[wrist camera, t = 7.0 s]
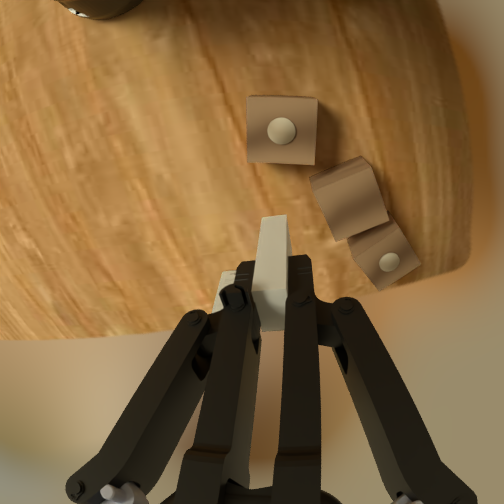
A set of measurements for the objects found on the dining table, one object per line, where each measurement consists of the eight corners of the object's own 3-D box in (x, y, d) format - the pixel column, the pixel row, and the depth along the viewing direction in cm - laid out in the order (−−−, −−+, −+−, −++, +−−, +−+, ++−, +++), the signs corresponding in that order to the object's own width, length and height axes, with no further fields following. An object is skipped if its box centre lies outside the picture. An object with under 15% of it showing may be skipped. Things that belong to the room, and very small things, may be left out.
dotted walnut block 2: (346, 238, 39) (353, 260, 35) (387, 209, 36) (399, 228, 32) (371, 269, 41) (379, 292, 37) (409, 244, 38) (421, 265, 34)
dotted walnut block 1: (251, 94, 30) (245, 97, 26) (313, 97, 30) (317, 99, 25) (252, 151, 34) (246, 162, 30) (310, 153, 33) (314, 165, 29)
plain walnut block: (309, 176, 35) (312, 191, 31) (360, 155, 33) (371, 167, 28) (330, 222, 38) (335, 241, 34) (378, 203, 36) (389, 220, 31)
